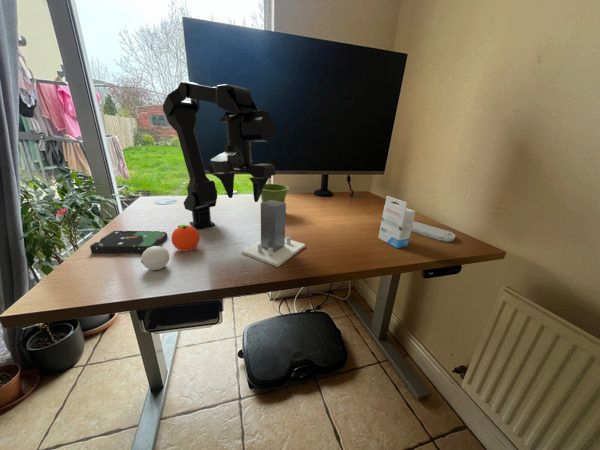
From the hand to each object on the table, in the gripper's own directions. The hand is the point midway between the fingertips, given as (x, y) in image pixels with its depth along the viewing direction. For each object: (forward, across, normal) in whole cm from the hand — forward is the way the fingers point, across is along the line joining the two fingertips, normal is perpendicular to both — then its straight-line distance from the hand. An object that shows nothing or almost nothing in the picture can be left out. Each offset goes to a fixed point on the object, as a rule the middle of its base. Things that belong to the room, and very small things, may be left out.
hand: (243, 199), depth 68 cm
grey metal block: (+13, +9, +1) cm, 16 cm away
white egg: (+13, -8, -23) cm, 28 cm away
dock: (+14, +10, +1) cm, 17 cm away
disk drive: (+13, -25, -18) cm, 33 cm away
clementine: (+13, -11, -12) cm, 21 cm away
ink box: (+15, +38, +26) cm, 49 cm away
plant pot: (+13, -8, +26) cm, 30 cm away
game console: (+16, +48, +42) cm, 66 cm away
